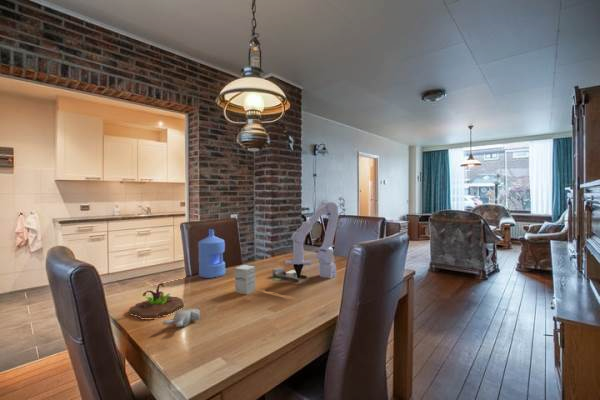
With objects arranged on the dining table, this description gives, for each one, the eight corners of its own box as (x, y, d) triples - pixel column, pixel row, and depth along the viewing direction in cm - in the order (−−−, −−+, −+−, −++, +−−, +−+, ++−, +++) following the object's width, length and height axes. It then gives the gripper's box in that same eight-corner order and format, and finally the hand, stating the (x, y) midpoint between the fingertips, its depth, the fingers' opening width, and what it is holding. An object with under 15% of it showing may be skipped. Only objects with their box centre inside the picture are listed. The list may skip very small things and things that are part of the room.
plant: (192, 306, 127) (191, 281, 127) (149, 324, 111) (148, 295, 111) (166, 298, 138) (165, 275, 138) (123, 312, 122) (122, 286, 121)
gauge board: (310, 280, 160) (310, 271, 160) (296, 287, 150) (296, 277, 149) (280, 274, 173) (280, 266, 173) (266, 280, 162) (265, 271, 162)
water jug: (193, 277, 170) (192, 230, 169) (209, 270, 185) (208, 227, 184) (216, 279, 166) (215, 231, 165) (230, 272, 181) (229, 228, 180)
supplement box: (235, 292, 143) (234, 267, 142) (244, 288, 149) (243, 264, 149) (246, 295, 139) (246, 269, 139) (255, 290, 146) (255, 265, 146)
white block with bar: (299, 277, 162) (299, 271, 162) (287, 282, 154) (287, 275, 154) (292, 276, 165) (292, 270, 165) (280, 280, 157) (280, 274, 157)
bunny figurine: (206, 307, 116) (182, 318, 101) (205, 319, 115) (181, 333, 101) (185, 305, 118) (159, 316, 104) (185, 317, 118) (159, 330, 103)
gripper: (311, 252, 161) (312, 275, 162) (286, 251, 163) (287, 275, 163) (310, 254, 154) (311, 279, 155) (284, 254, 156) (285, 279, 156)
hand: (298, 277), depth 159 cm, fingers closed
